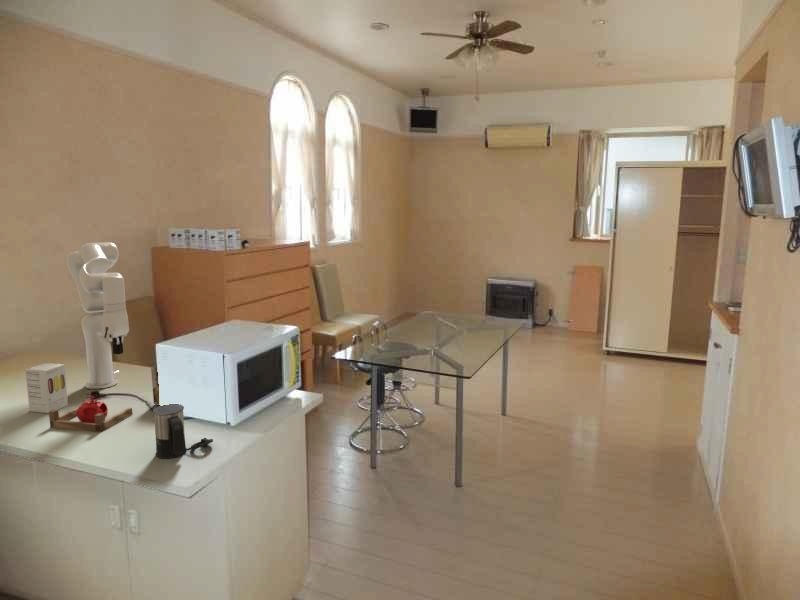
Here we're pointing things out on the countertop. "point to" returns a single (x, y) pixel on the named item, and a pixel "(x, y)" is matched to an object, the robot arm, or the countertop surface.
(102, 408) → the red tomato
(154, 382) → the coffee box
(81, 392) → the countertop surface
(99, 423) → the display stand
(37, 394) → the supplement box
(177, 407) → the milk frother
